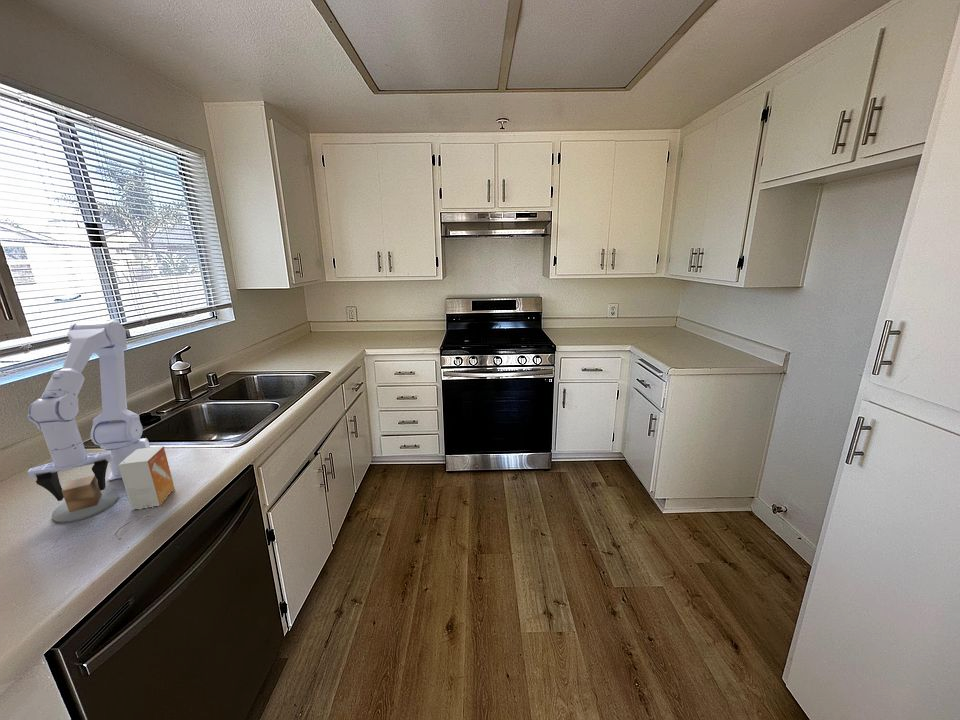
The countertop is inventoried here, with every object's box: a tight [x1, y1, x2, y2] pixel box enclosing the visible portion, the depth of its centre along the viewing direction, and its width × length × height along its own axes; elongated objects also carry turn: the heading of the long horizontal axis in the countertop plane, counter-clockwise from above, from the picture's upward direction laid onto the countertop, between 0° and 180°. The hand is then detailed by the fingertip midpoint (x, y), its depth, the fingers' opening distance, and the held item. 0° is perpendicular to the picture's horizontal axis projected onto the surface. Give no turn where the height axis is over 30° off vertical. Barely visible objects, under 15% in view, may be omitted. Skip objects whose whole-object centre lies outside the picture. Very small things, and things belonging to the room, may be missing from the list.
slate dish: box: [51, 488, 120, 524], centre depth 99 cm, size 12×12×1 cm
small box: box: [118, 445, 175, 511], centre depth 100 cm, size 8×6×13 cm
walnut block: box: [62, 474, 102, 512], centre depth 98 cm, size 5×5×6 cm
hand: (82, 493), depth 98 cm, fingers open, 7 cm apart
